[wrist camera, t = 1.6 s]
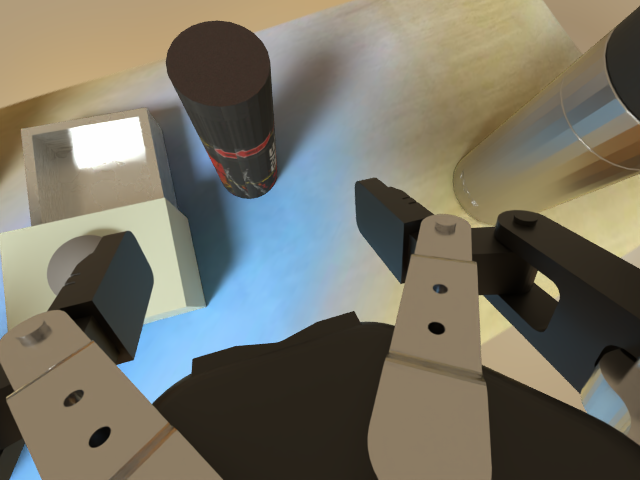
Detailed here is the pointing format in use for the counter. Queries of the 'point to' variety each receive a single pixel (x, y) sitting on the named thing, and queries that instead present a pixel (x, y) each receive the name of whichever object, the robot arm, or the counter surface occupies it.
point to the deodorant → (228, 101)
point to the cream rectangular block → (81, 240)
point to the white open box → (95, 165)
